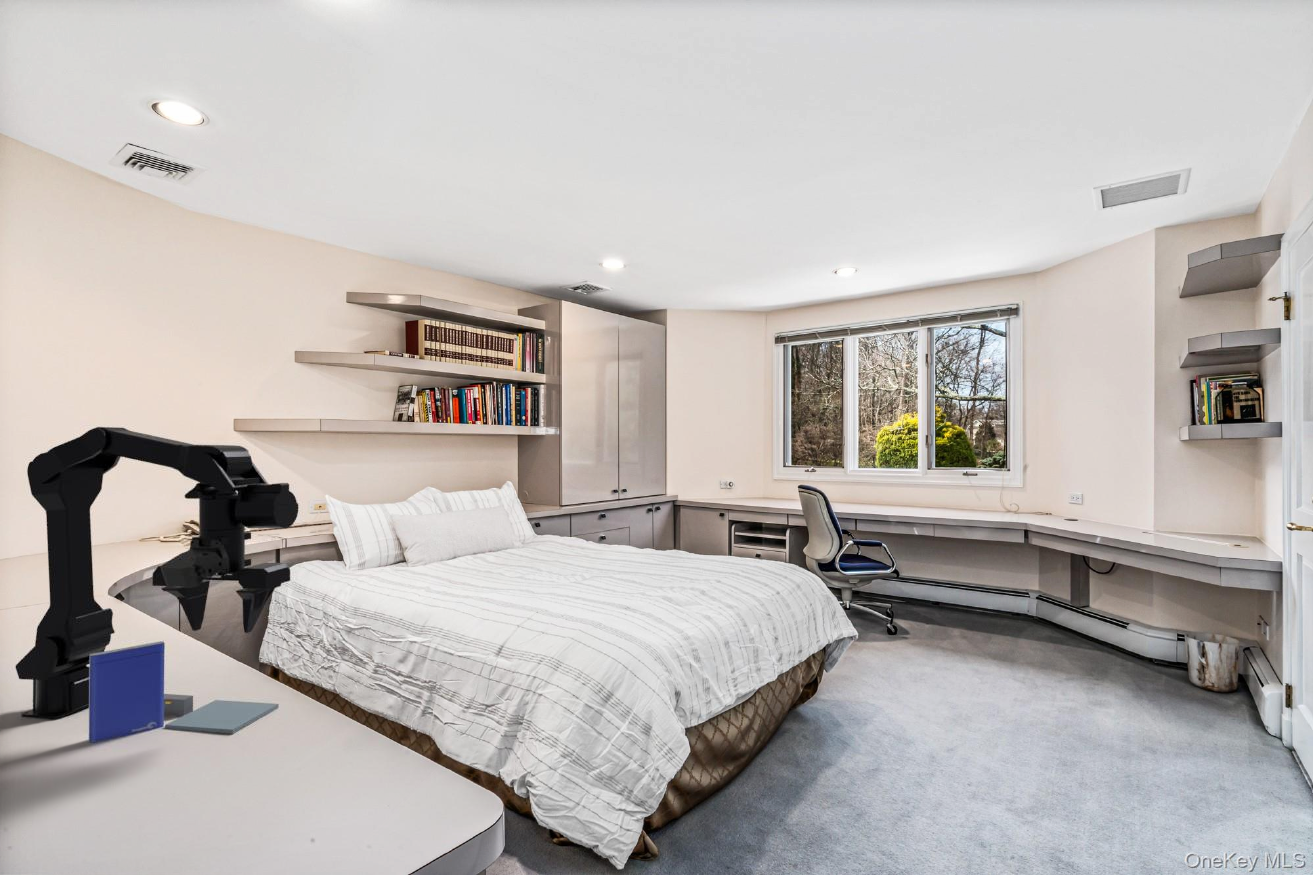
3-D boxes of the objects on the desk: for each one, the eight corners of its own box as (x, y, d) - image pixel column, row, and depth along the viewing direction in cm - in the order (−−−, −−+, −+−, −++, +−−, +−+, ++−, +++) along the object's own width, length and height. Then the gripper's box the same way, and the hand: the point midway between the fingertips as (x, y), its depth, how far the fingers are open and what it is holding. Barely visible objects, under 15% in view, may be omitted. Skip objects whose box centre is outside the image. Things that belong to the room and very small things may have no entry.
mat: (164, 728, 92) (164, 724, 92) (215, 703, 101) (215, 699, 101) (233, 733, 91) (233, 729, 91) (278, 707, 100) (278, 703, 100)
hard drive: (164, 727, 93) (165, 643, 93) (89, 747, 87) (90, 656, 87) (162, 724, 94) (163, 640, 94) (88, 743, 88) (89, 653, 88)
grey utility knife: (114, 712, 98) (114, 696, 98) (125, 707, 100) (126, 691, 100) (182, 716, 96) (182, 700, 96) (192, 711, 98) (193, 695, 98)
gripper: (116, 534, 89) (116, 645, 89) (235, 536, 87) (235, 651, 86) (185, 524, 100) (185, 623, 100) (292, 526, 98) (292, 627, 98)
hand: (222, 631), depth 96 cm, fingers open, 8 cm apart
